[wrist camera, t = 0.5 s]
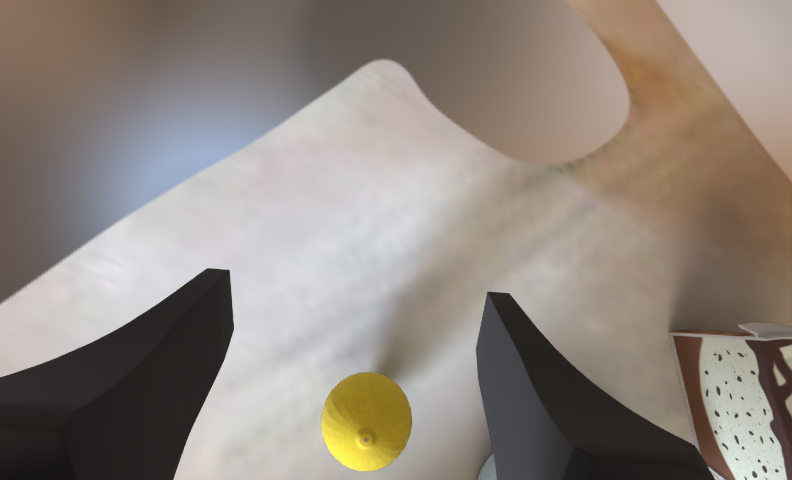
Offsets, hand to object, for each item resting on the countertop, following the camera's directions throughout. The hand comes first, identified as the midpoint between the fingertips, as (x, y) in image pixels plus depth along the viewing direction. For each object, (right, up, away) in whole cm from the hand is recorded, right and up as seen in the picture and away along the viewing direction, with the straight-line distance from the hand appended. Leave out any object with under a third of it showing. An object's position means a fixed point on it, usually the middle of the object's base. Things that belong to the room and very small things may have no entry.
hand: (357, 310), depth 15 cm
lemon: (-1, -9, +23) cm, 24 cm away
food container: (+24, -8, +24) cm, 35 cm away
